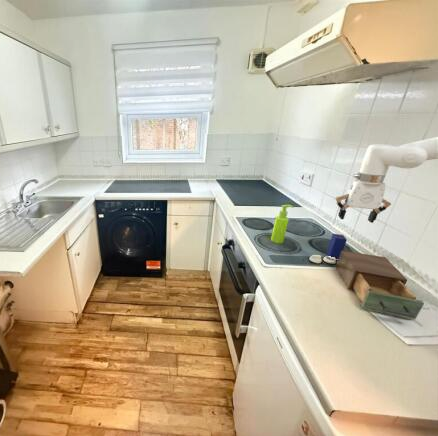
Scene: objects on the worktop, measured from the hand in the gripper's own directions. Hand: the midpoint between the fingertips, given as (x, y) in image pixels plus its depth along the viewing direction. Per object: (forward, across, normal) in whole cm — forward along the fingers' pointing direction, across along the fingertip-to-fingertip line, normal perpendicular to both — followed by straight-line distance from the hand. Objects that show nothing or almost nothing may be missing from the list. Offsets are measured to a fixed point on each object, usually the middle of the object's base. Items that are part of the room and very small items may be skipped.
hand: (355, 219), depth 96 cm
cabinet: (+22, +5, -11) cm, 25 cm away
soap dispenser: (+22, -23, +15) cm, 35 cm away
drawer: (+21, +5, -25) cm, 33 cm away
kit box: (+22, -1, +6) cm, 23 cm away
